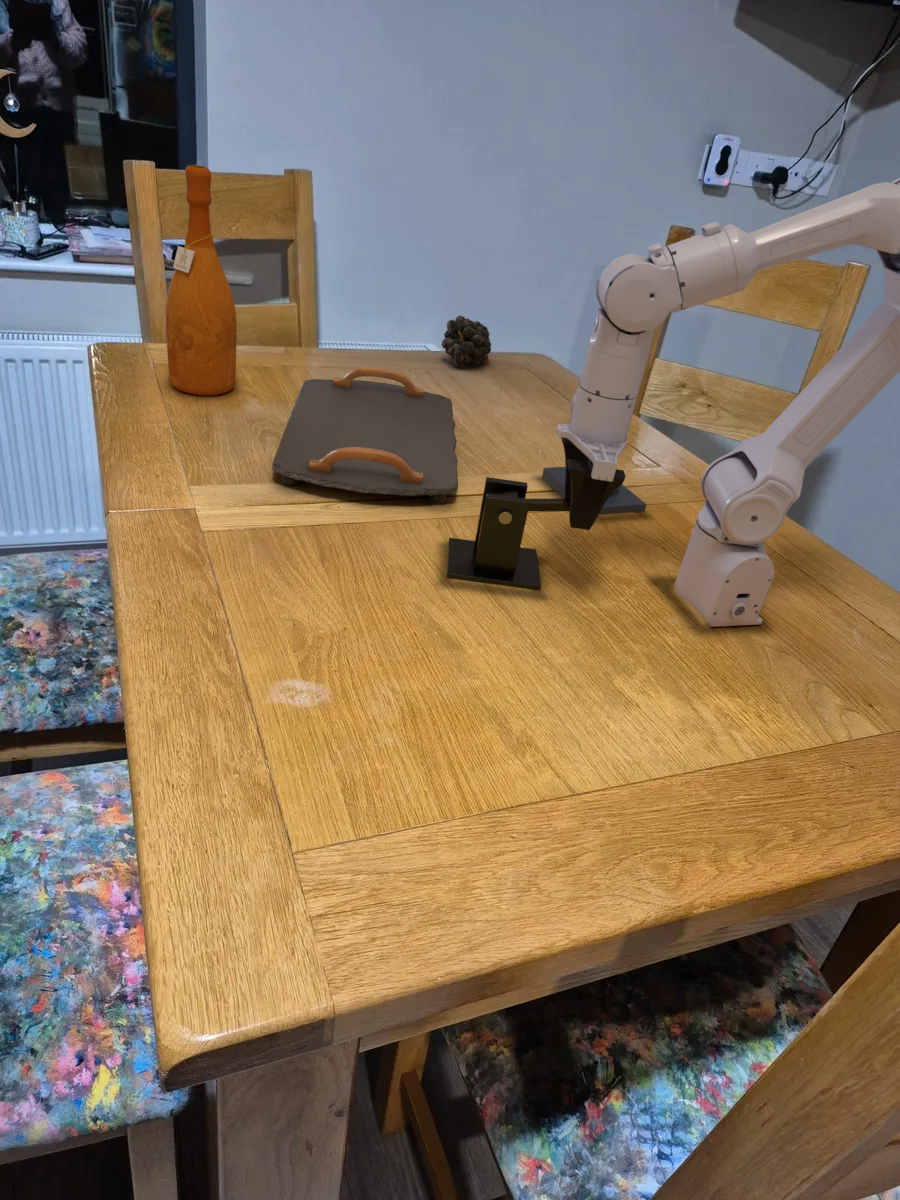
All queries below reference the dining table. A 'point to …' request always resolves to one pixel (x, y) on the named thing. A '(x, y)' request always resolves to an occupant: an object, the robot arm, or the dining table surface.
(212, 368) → the wine bottle
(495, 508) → the mini lever press
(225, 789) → the dining table surface
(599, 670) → the dining table surface
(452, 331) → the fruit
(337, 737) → the dining table surface
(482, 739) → the dining table surface
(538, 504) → the switch lever
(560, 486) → the base unit
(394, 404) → the serving tray
